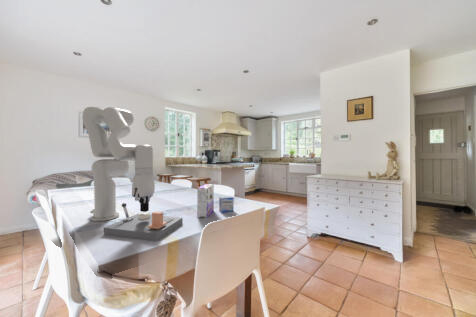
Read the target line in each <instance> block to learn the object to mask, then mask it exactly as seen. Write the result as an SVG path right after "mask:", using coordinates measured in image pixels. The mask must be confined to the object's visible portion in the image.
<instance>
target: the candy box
mask: <svg viewBox="0 0 476 317" xmlns="http://www.w3.org/2000/svg"><path fill="white" fill-rule="evenodd" d="M214 189H215V188H214V183H213V184H211V183H209V184H207V183H205V184H203V185H201V186H199V187H197V218H202V219H203V218H209V216H210V215H211V214H212V213H213V212H214V210H215V209H214V208H215V206H214V204H215V202H214V200H215V199H214V198H215V197H214V194H215V193H214Z"/></svg>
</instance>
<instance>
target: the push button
mask: <svg viewBox="0 0 476 317" xmlns="http://www.w3.org/2000/svg"><path fill="white" fill-rule="evenodd" d="M137 214H138V220H139V221H145V220H149V219H150V215H151V213H150V212H148V211H147V212H139V213H137Z"/></svg>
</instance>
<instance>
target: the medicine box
mask: <svg viewBox="0 0 476 317" xmlns="http://www.w3.org/2000/svg"><path fill="white" fill-rule="evenodd" d="M218 199H219V200H218V202H219V203H218V206H219V207H218V208H219V210H218V211H219V212H221V214H224V213H231V212H234V206H235V205H234V200H235V199H234V197H233V196H232V195H229V196H220V197H218Z"/></svg>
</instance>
